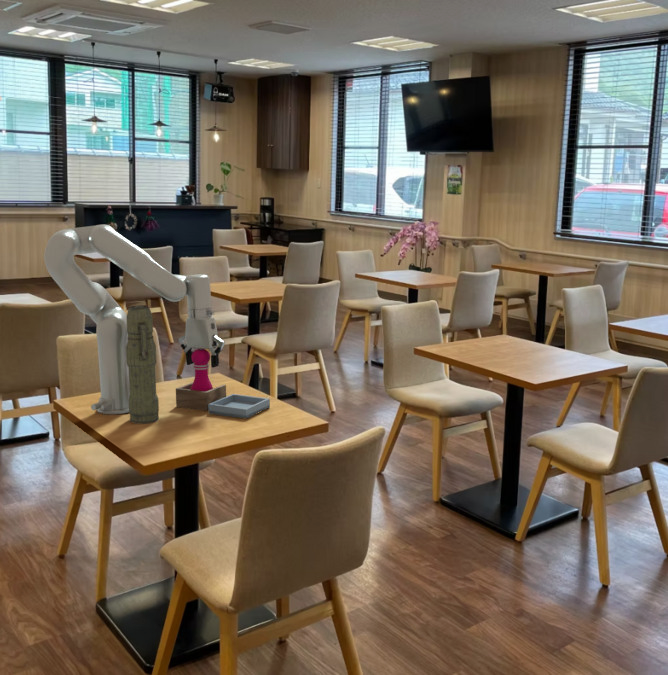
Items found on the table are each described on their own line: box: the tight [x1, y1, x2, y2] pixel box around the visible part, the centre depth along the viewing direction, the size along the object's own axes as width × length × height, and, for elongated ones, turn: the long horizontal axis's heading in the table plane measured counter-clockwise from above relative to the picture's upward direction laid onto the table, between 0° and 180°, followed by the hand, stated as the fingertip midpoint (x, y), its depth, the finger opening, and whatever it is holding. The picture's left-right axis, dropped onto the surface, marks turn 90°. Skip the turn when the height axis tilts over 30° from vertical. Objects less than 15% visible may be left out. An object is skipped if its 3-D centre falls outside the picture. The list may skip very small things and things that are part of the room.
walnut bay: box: [175, 381, 227, 412], centre depth 262 cm, size 11×12×6 cm
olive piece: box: [126, 304, 160, 425], centre depth 243 cm, size 9×12×35 cm
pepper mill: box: [191, 348, 214, 392], centre depth 261 cm, size 7×7×20 cm
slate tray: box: [208, 393, 271, 420], centre depth 256 cm, size 14×14×3 cm
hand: (202, 365), depth 261 cm, fingers open, 9 cm apart
